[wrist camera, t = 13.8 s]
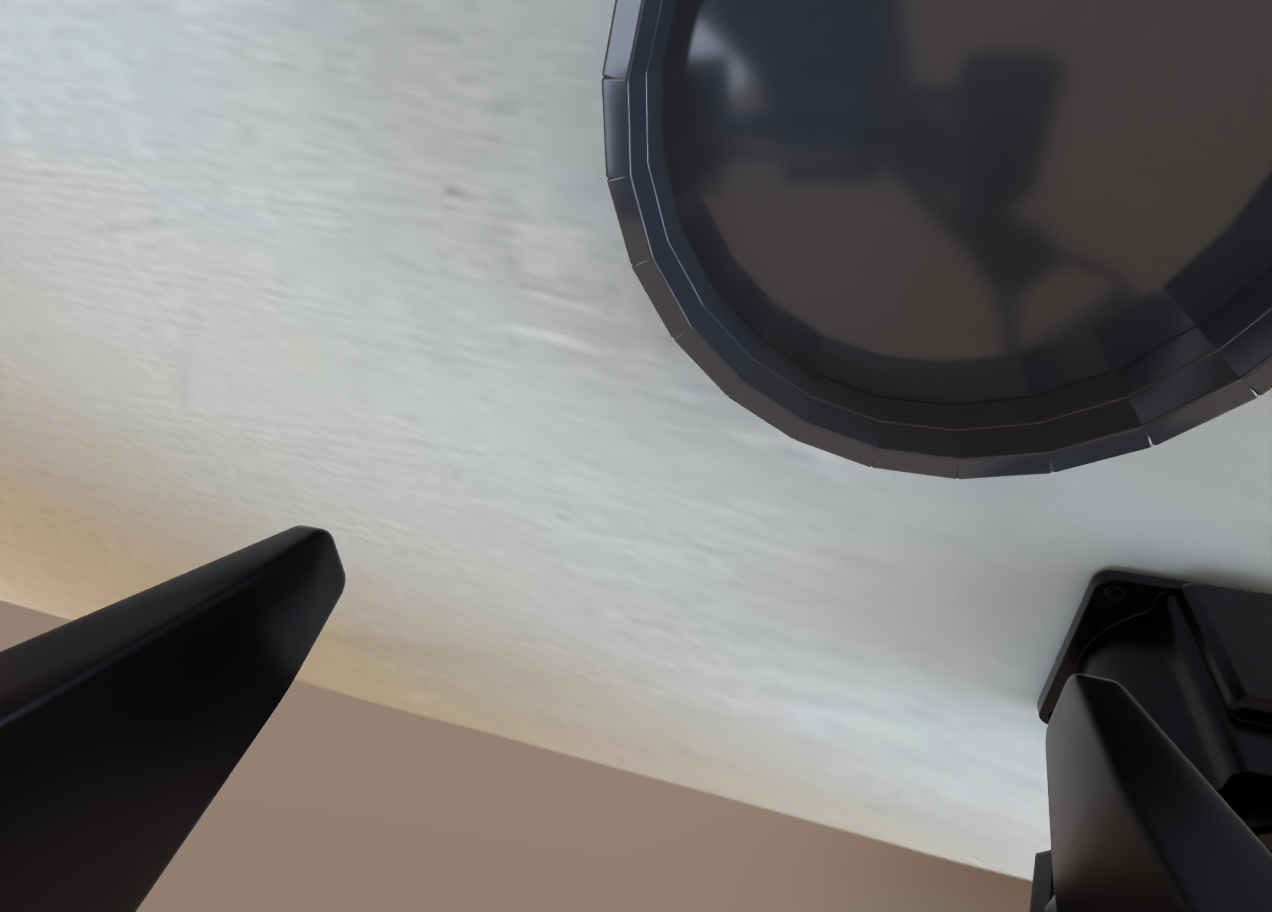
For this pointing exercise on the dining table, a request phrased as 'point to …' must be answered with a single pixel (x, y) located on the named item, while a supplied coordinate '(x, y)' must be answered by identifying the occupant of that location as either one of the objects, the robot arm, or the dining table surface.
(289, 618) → the robot arm
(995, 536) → the dining table surface
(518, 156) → the dining table surface
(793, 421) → the pan
